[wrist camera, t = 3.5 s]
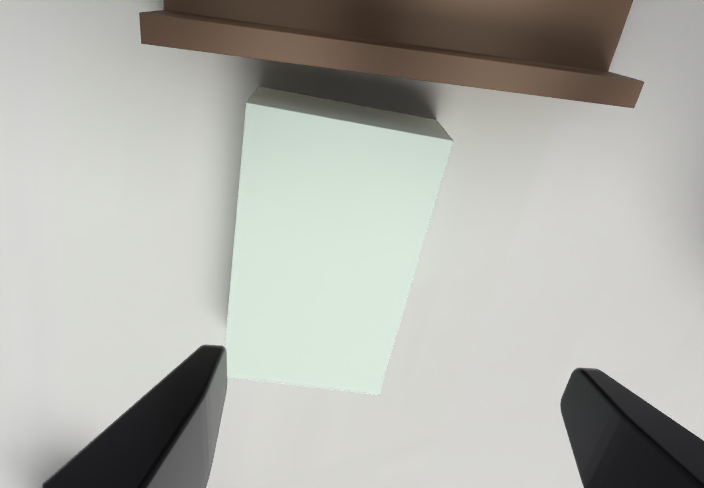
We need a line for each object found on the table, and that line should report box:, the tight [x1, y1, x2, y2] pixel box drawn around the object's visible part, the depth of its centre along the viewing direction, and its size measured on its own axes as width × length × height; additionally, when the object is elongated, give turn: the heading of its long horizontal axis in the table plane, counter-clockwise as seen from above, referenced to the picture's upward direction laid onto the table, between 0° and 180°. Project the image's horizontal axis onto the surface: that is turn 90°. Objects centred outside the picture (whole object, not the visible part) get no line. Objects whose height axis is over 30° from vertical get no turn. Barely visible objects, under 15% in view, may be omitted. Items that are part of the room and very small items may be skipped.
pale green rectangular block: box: [225, 86, 454, 395], centre depth 19 cm, size 6×11×3 cm, turn 169°
